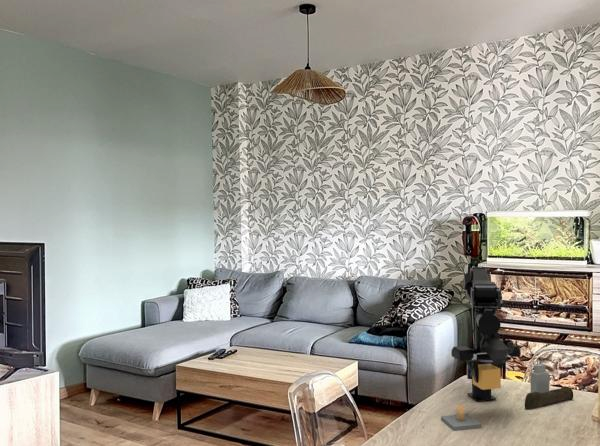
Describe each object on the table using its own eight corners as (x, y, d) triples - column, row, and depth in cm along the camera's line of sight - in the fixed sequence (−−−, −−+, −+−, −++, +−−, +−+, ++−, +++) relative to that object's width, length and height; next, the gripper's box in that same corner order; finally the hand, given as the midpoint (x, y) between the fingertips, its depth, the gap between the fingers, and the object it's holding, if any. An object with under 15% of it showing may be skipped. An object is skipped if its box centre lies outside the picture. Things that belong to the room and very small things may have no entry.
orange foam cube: (472, 383, 162) (472, 364, 162) (490, 382, 163) (490, 363, 163) (482, 389, 156) (482, 370, 156) (500, 388, 157) (500, 368, 157)
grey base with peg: (441, 419, 158) (440, 402, 157) (467, 417, 159) (467, 399, 159) (453, 430, 150) (453, 412, 150) (481, 427, 151) (481, 409, 151)
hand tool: (563, 397, 174) (562, 382, 174) (574, 401, 171) (573, 386, 171) (517, 407, 167) (517, 392, 166) (528, 411, 163) (528, 396, 163)
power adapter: (529, 394, 177) (529, 356, 177) (543, 392, 179) (542, 354, 179) (537, 397, 174) (536, 359, 174) (550, 395, 176) (550, 357, 176)
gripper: (468, 335, 150) (469, 393, 150) (531, 331, 153) (532, 387, 154) (450, 327, 161) (451, 380, 161) (509, 323, 164) (510, 376, 164)
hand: (486, 381), depth 160 cm, fingers closed on orange foam cube, 6 cm apart
